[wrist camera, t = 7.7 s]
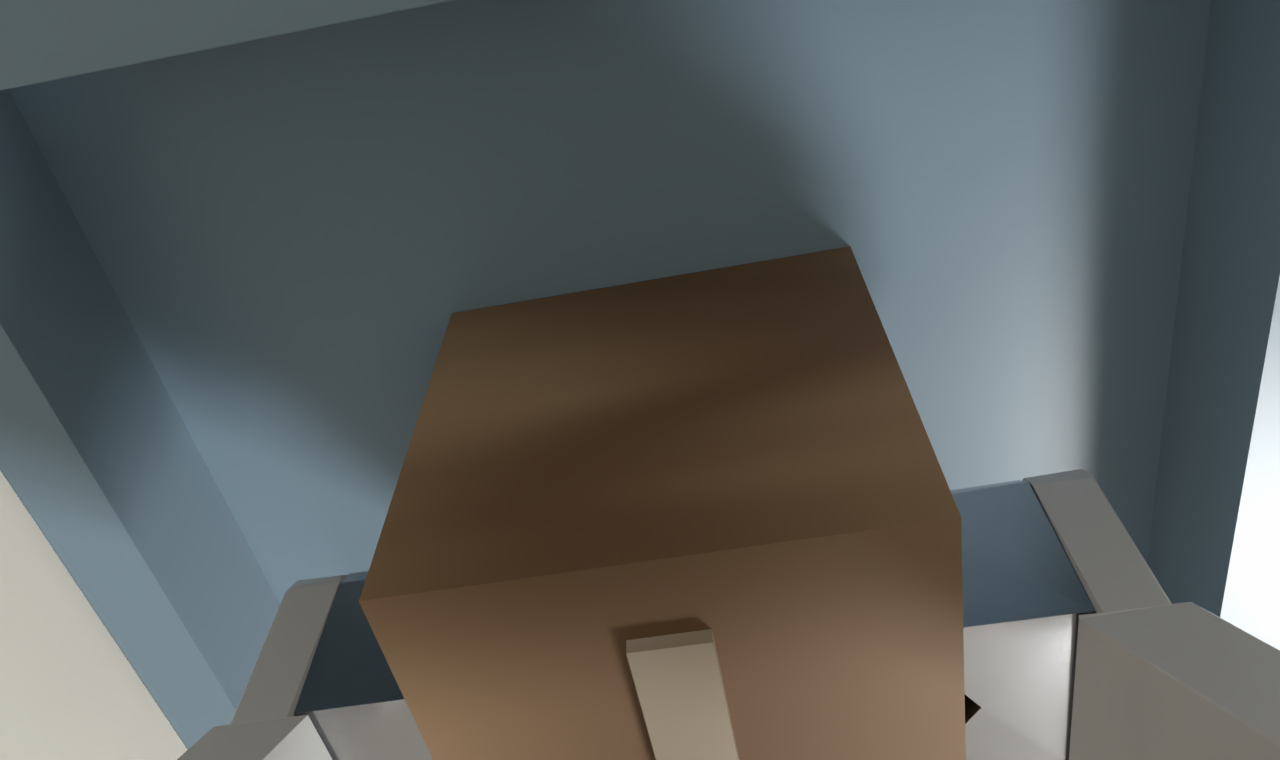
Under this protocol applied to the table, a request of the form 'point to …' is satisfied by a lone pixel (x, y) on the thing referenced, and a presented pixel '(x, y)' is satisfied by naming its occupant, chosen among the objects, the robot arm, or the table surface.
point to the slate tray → (613, 257)
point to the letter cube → (675, 531)
